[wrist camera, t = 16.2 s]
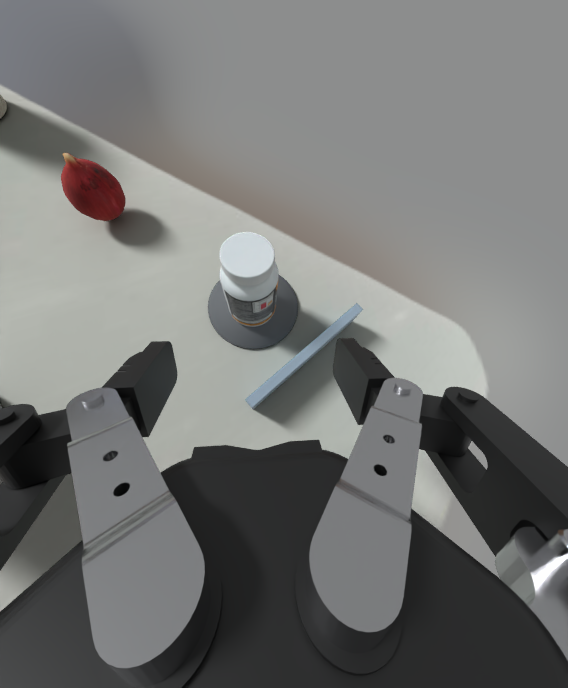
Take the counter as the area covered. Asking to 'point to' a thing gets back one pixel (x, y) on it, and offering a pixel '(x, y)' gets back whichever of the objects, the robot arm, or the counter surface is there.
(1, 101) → the travel mug
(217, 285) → the mat
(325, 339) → the divider wall
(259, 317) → the pill bottle
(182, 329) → the counter surface
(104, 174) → the onion
